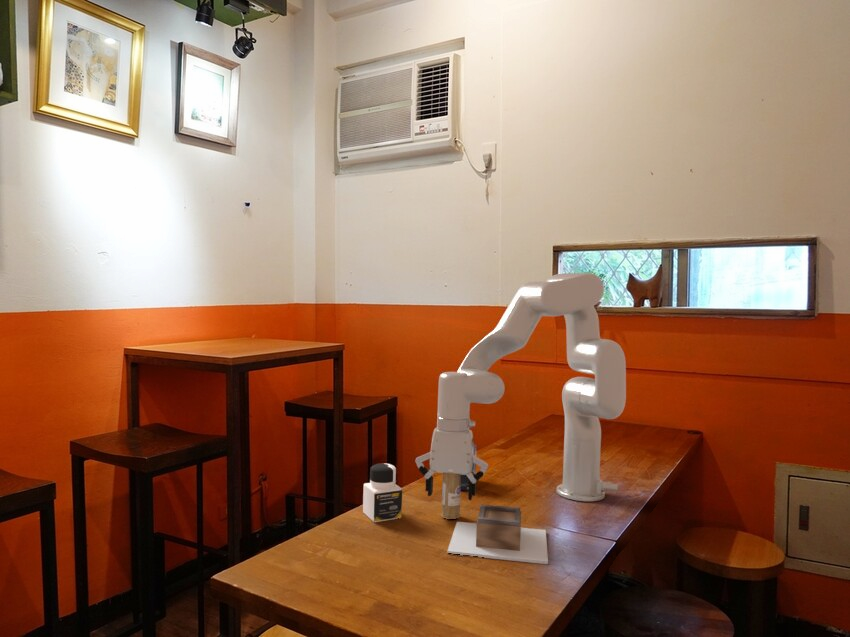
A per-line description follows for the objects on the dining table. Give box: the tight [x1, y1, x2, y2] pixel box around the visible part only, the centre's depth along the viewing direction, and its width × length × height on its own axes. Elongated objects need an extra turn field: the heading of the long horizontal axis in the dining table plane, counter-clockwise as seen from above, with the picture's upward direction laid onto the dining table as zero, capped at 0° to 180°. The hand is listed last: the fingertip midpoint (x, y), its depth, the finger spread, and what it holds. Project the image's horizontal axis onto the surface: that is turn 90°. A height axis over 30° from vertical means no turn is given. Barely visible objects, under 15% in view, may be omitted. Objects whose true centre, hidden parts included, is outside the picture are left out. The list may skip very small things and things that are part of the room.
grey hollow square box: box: [476, 503, 522, 551], centre depth 124 cm, size 9×9×6 cm
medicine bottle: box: [362, 462, 403, 523], centre depth 138 cm, size 7×7×12 cm
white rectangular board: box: [446, 521, 549, 565], centre depth 124 cm, size 20×16×1 cm
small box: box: [460, 444, 477, 492], centre depth 162 cm, size 11×6×10 cm, turn 168°
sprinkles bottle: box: [440, 469, 462, 520], centre depth 138 cm, size 5×5×13 cm
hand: (450, 496), depth 138 cm, fingers open, 9 cm apart
